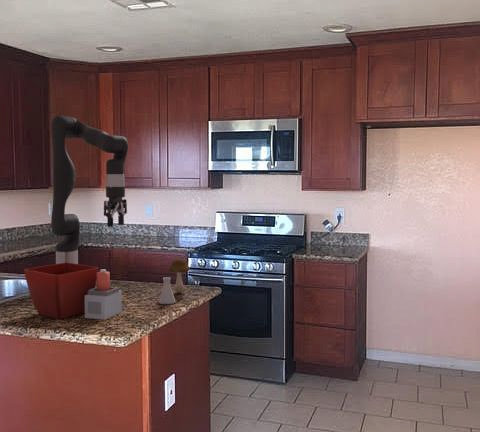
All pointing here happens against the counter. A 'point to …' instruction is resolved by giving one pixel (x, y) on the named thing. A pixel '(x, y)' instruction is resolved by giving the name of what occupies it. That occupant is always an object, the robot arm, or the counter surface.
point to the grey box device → (103, 303)
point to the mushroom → (179, 273)
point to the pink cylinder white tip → (103, 280)
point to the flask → (166, 293)
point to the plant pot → (60, 288)
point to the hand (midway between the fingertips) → (115, 225)
